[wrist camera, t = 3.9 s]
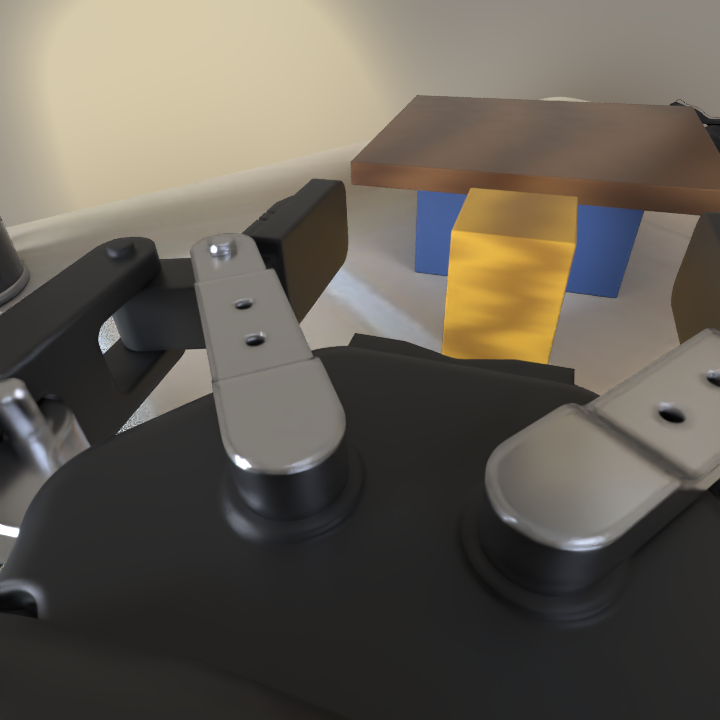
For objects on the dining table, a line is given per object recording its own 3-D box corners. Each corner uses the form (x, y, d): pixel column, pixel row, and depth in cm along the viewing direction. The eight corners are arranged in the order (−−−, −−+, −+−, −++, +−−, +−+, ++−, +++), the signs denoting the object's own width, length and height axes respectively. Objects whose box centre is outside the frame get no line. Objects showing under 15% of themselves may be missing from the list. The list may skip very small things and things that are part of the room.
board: (351, 184, 35) (350, 161, 34) (416, 113, 48) (416, 95, 47) (731, 218, 29) (742, 191, 28) (686, 126, 42) (692, 106, 41)
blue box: (414, 272, 40) (417, 178, 35) (450, 200, 50) (456, 121, 46) (616, 298, 36) (648, 198, 32) (609, 215, 46) (633, 130, 42)
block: (437, 403, 29) (451, 230, 22) (454, 349, 32) (470, 186, 26) (533, 422, 27) (577, 243, 21) (540, 363, 31) (578, 196, 25)
